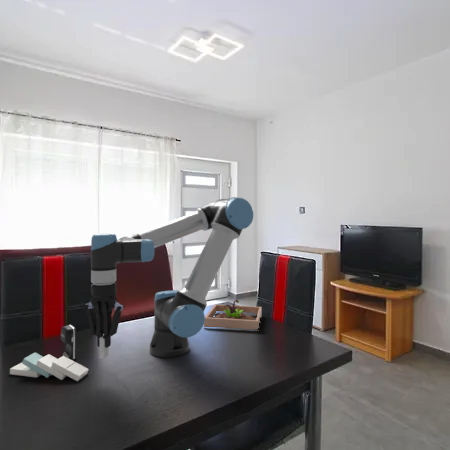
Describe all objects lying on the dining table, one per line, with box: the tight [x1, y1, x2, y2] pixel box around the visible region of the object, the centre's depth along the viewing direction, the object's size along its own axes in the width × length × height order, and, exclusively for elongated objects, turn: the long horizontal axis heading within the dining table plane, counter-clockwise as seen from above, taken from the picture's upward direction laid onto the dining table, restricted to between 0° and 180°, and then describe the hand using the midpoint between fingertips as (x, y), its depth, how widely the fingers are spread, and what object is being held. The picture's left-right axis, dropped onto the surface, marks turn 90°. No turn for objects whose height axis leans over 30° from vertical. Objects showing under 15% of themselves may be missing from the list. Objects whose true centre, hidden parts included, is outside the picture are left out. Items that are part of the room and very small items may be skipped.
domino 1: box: [21, 352, 53, 379], centre depth 107 cm, size 2×5×10 cm
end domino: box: [9, 362, 42, 378], centre depth 108 cm, size 2×5×10 cm
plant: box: [212, 299, 256, 320], centre depth 165 cm, size 20×20×11 cm
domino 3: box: [51, 355, 89, 382], centre depth 106 cm, size 2×5×10 cm
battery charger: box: [60, 324, 77, 360], centre depth 120 cm, size 7×4×11 cm, turn 42°
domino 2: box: [36, 353, 68, 381], centre depth 107 cm, size 2×5×10 cm
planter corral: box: [203, 304, 263, 329], centre depth 164 cm, size 25×25×5 cm
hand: (104, 356), depth 104 cm, fingers closed
